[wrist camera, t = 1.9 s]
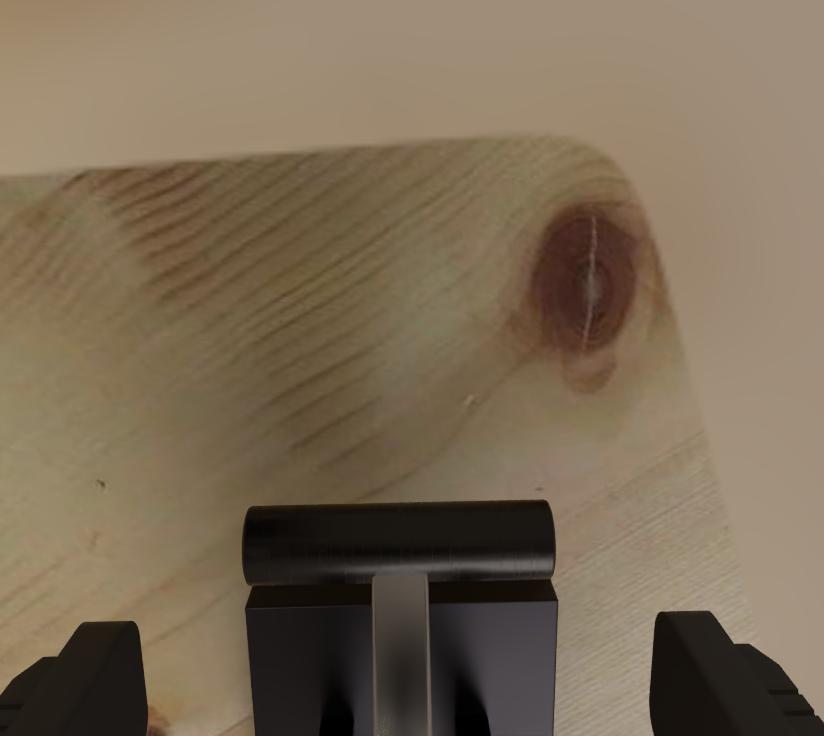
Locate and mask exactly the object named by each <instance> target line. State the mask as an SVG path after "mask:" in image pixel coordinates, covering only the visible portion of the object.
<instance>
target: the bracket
mask: <svg viewBox="0 0 824 736" xmlns="http://www.w3.org/2000/svg"><path fill="white" fill-rule="evenodd" d="M428 585H429V625H430V665H431V705H432V736H553V728H554V701H555V674H556V647H557V620H558V599H557V596H556V593H555V591H554V588H553V585H552V582H551V580H550V579H532V580H490V581H448V582H428ZM245 613H246V625H247V638H248V650H249V663H250V675H251V688H252V700H253V713H254V725H255V736H373V659H372V583H365V584H323V585H281V586H253V587H252V590H251V593H250V595H249V598H248V601H247V604H246V607H245Z"/></svg>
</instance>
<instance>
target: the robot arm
mask: <svg viewBox="0 0 824 736" xmlns="http://www.w3.org/2000/svg"><path fill="white" fill-rule="evenodd" d="M649 707H650V718H651V724H652V729H653V733H654V736H824V723H823V721H822V720H821V719H820V717H819V716H815V714H814V710H813V708H812V707H811V706H810V704H809V703H808V702H807V701H806V699H805V698H804V697H803V695H799V693H798V689H797V688H796V686H795V685H794V684H793V682H792V681H791V680H790V678H789V677H788V676H787V675H786V673H785V672H784V671H783V669H782V668H781V667H780V665H779V664H777V663H776V662H774V661H773V660H772V659H770V658H769V657H767V656H766V655H764V654H763V653H762V652H760V651H759V650H757V649H756V648H754V647H753V646H752V645H750V644H734V643H733V642H732V640H731V639H730V637H729V636H728V635H727V633H726V632H725V630H724V629H723V628H722V626H721V625H720V623H719V622H718V621H717V619H716V618H715V616H714V615H713V614H712V613H711V612H710V611H670V612H659V613H658V615H657V617H656V621H655V628H654V641H653V655H652V669H651V682H650V696H649ZM147 724H148V705H147V696H146V687H145V678H144V669H143V660H142V652H141V643H140V635H139V630H138V627H137V625H136V623H135V622H134V621H108V622H84V623H82V624H81V625H80V626H79V627H78V628H77V630H76V631H75V632H74V634H73V635H72V637H71V638H70V639H69V641H68V642H67V644H66V645H65V647H64V648H63V649H62V651H61V652H60V654H59V655H58V657H43V658H41V659H40V660H39V661H37V662H36V663H34V664H33V665H32V666H30V667H29V668H28V669H26V670H25V671H23V672H22V673H21V674H19V675H18V676H17V677H15V678H14V679H13V680H12V681H11V682H10V684H9V685H8V686H7V688H6V689H5V690H4V691H3V693H2V694H1V695H0V736H146V732H147Z"/></svg>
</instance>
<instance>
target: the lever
mask: <svg viewBox="0 0 824 736" xmlns="http://www.w3.org/2000/svg"><path fill="white" fill-rule="evenodd" d="M555 561H556V539H555V528H554V521H553V515H552V511H551V508H550V506H549V503H548V502H547V501H546V500H498V501H454V502H409V503H364V504H320V505H275V506H252V507H250V508H249V509H248V511H247V513H246V516H245V520H244V526H243V535H242V566H243V573H244V577H245V580H246V583H247V584H248V585H249V586H281V585H323V584H365V583H372V659H373V736H432V705H431V665H430V625H429V585H428V582H448V581H490V580H532V579H550V578H551V577H552V576H553V573H554V569H555Z"/></svg>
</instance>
